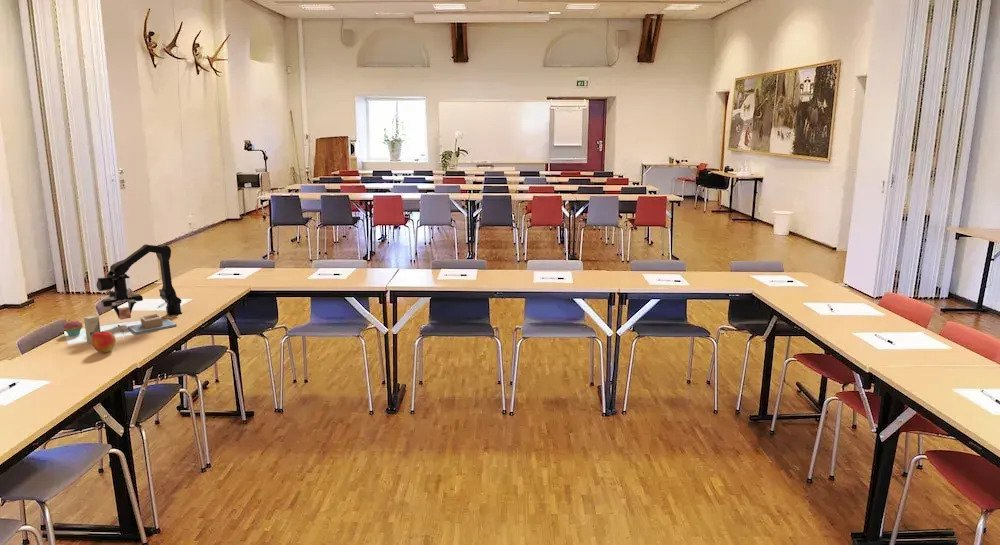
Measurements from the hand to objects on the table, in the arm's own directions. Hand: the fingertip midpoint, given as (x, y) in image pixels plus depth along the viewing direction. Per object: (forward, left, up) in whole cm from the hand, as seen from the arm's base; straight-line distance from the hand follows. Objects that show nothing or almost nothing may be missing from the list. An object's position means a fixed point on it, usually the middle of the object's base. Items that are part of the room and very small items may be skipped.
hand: (124, 315), depth 353 cm
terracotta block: (0, 0, -1) cm, 1 cm away
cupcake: (+24, +1, -5) cm, 24 cm away
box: (+19, +21, -5) cm, 29 cm away
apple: (+19, +41, -5) cm, 45 cm away
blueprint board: (-9, +15, -5) cm, 18 cm away
